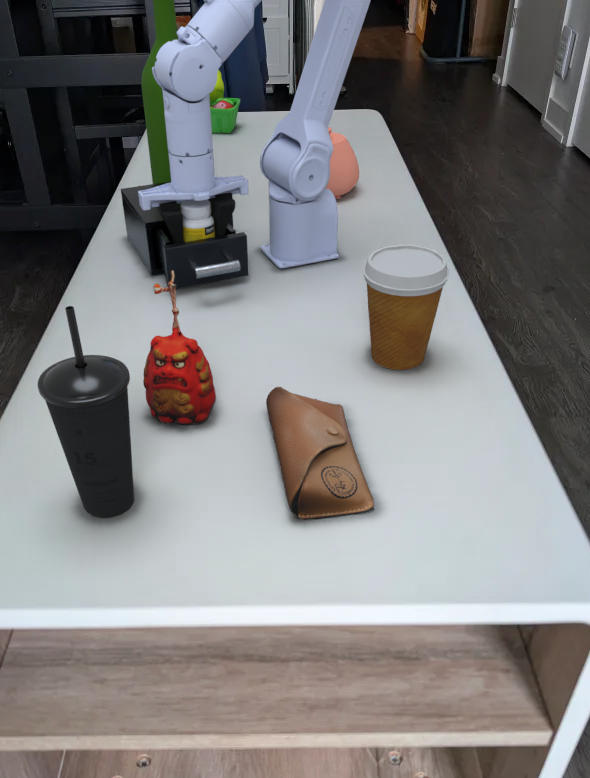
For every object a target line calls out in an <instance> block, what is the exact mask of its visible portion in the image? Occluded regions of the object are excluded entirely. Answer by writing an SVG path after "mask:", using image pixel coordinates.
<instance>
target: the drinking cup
mask: <svg viewBox="0 0 590 778" xmlns="http://www.w3.org/2000/svg"><path fill="white" fill-rule="evenodd" d="M64 310H65V316H66V319H67V323H68V329H69V334H70V340H71V343H72V349H73V354H74V356H72V357H68V358H65V359H62V360H60V361H57V362H55V363H53V364H51V365H50V366H49V367H47V368H46V369H45V370H44V371H43V372H41V374H40V375H39V377H38V380H37V389H38V390H37V391H38V393H39V395H40V396H41V398H42V399H44V400H45V404H46V406H47V409H48V412H49V415H50V417H51V420H52V423H53V425H54V428H55V431H56V434H57V437H58V440H59V443H60V445H61V448H62V451H63V453H64V456H65V459H66V462H67V464H68V468H69V471H70V473H71V476H72V479H73V481H74V484H75V487H76V489H77V492H78V493H77V494H78V495H79V498H80V500H81V505H82V506H83V509H84V510H85V512H86V513H88V514H89V515H91V516H93V517H96V518H113V517H117V516H119V515H122V514H124V513H126V512H127V511H128V510H129V509H130V508H131V507H132V506H133V504H134V502H135V489H134V487H135V486H134V472H133V471H134V470H133V456H132V439H131V424H130V423H131V422H130V406H129V405H130V403H129V390H128V386H129V384H130V381H131V375H130V370H129V368H128V366H127V365H126V364H125V363H124V362H122V361H121V360H119V359H117V358H115V357H112V356H108V355H102V354H84V352H83V347H82V341H81V337H80V331H79V326H78V321H77V317H76V310H75V307H74V306H72V305H68V306H66V307H64Z"/></svg>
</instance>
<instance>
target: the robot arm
mask: <svg viewBox="0 0 590 778" xmlns="http://www.w3.org/2000/svg"><path fill="white" fill-rule="evenodd" d="M262 1H263V0H203V2H204V3H203V4H202V6H200V8H199V9H198V10H197V12H196V13H195V14H194V15H193V17H192V18H191V20H189V21H188V23H187V24H186V25H185V26H180V27H179V28H178V29H177V35H178V40H173V41H171V42H170V41H169V42H167V43H165V44H164V45H163V46H162V47H161V48H160V50H159V51H158V53H157V56H156V58H157V61H156V62H155V66H154V67H152V72H153V75H154V78H155V80H156V82H157V83H158V85H159V86H160V87H161V88H162V90H163V100H164V114H165V124H166V134H167V145H168V154H169V164H170V174H171V183H167V184H164V185H161V186H157V187H154V188H150V189H146V190H141V191H138V196H139V204H140V207H141V208H142V209H143V210H144V211H145V210H150V209H151V207H157V209H158V211H159V212H160V214H161V216H162V218H163V219H164V221H165V223H166V225H167V227H168V230H169V232H170V234H171V237H172V239H173V242H174V244H177V243H183V242H184V240H183V214H182V213H181V212H180V211H179V207H178V206H177V203H183V202H190V201H201V200H208V201H210V204H211V214H210V215H212V217H213V218H214V224H215V237H218V236H224V235H225V232H226V228H227V225H228V222H229V220H230V218H231V216H232V215H233V214H234V211H236V210H235V209H236V200H235V199H234V198H233V196H234V195H240V196H246V195H249V180H248V179H247V177H246V176H245V175H243V174H242V175H231V176H215V175H216V174H215V160H214V144H213V143H214V141H213V133H212V127H211V111H210V99H209V93H211V92H212V91H213V90H214V88H215V85H216V82H217V73H218V70H220V68H221V67H222V65H223V64H224V63H225V61H227V59H228V58H229V57H230V56H231V55H232V53H233V52H234V50H236V48H237V47H238V46H239V45H240V43H241V42H242V41H243V40H244V38H245V37H246V36H247V35H248V33H250V31H251V30H252V29H253V28H254V26H255V9H256V8H257V7H258V6H259V4H260V3H261V2H262ZM370 4H371V0H324V2H323V4H322V8H321V11H320V14H319V17H318V20H317V24H316V27H315V30H314V33H313V37H312V40H311V43H310V46H309V50H308V53H307V56H306V59H305V62H304V66H303V69H302V72H301V75H300V78H299V82H298V85H297V88H296V91H295V94H294V98H293V101H292V104H291V107H290V110H289V113H288V114H286V115H285V116H284V117H283V118H281V120H279V121H278V122H277V123H276V124H275V127H274V131H273V133H272V135H271V137H270V138H269V140H268V141H267V142H266V143H265V144H264V147H263V148H262V150H261V153H260V157H259V167H260V171H261V173H262V175H263V177H265V179H267V180H268V214H269V215H268V216H269V217H268V218H269V219H268V220H269V221H268V222H269V243H268V244H262V245H261V246H260V250H261V251H262V252H263V253H264V255H265V256H267V258H268V259H269V260H270V261H271V262H272V263H273V264H274V265H275V266H276V267H277V268H278V269H288V268H293V267H298V266H304V265H309V264H315V263H320V262H325V261H329V260H330V261H331V260H336V259H338V258H339V257H340V254H339V253H338V227H339V226H338V224H339V223H338V222H339V211H338V204H337V199H335V197H334V195H333V193H332V192H331V190H329V189H325V188H326V186H327V184H328V182H329V178H330V159H331V155H332V152H333V144H332V141H331V138H330V134H329V131H328V127H330V122H331V121H332V120H331V119H332V117H333V114H334V111H335V107H336V105H337V102H338V99H339V96H340V93H341V90H342V87H343V84H344V81H345V78H346V75H347V72H348V69H349V66H350V63H351V61H352V57H353V54H354V51H355V48H356V46H357V42H358V40H359V37H360V33H361V30H362V27H363V25H364V22H365V18H366V16H367V13H368V10H369V8H370ZM232 213H233V214H232Z"/></svg>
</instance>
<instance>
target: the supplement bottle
mask: <svg viewBox="0 0 590 778" xmlns="http://www.w3.org/2000/svg"><path fill="white" fill-rule="evenodd" d="M181 213H182V214H183V240H184V242H189V241H195V240H200V239H206V238H212V237H215V224H214V218H213V217H212V215H210V214H211V204H210V201H208V200H201V201H190V202H183V203H181Z"/></svg>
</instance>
